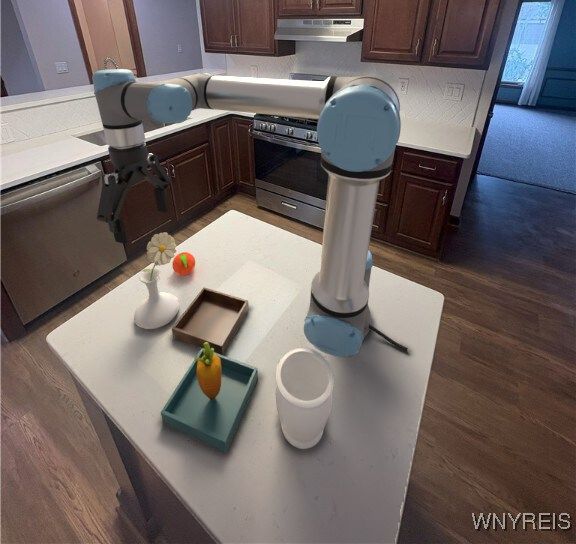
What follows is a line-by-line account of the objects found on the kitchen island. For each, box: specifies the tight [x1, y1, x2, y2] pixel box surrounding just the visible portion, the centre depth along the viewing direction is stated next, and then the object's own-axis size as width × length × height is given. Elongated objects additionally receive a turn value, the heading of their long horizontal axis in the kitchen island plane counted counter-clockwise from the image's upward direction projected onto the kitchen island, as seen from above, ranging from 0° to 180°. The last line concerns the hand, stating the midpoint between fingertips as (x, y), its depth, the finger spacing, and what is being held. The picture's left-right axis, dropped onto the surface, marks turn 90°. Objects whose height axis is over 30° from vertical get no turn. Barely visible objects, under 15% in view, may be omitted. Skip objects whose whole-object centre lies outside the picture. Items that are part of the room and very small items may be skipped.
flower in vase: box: [133, 231, 180, 330], centre depth 81 cm, size 13×11×25 cm
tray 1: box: [171, 287, 250, 356], centre depth 82 cm, size 14×14×3 cm
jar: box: [275, 347, 335, 450], centre depth 59 cm, size 11×10×15 cm
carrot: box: [193, 342, 221, 400], centre depth 63 cm, size 5×5×15 cm
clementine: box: [172, 251, 196, 276], centre depth 98 cm, size 8×7×7 cm
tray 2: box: [160, 348, 259, 453], centre depth 65 cm, size 14×14×3 cm
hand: (143, 225), depth 76 cm, fingers open, 13 cm apart
